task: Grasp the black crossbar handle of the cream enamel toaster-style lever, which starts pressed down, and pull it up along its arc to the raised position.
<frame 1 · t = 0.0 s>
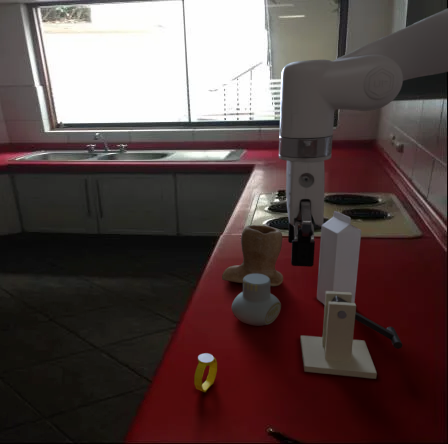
hand: (299, 253, 68), 24 cm above the counter, tool pointing down, fingers open, 9 cm apart
tan boot: (254, 280, 113), on the counter
milk: (334, 303, 99), on the counter
lever: (365, 321, 76), point 8 cm above the counter, hinge at -30.0°
watch: (206, 387, 74), on the counter
air freshener: (256, 319, 94), on the counter
toaster bracket: (335, 358, 79), on the counter
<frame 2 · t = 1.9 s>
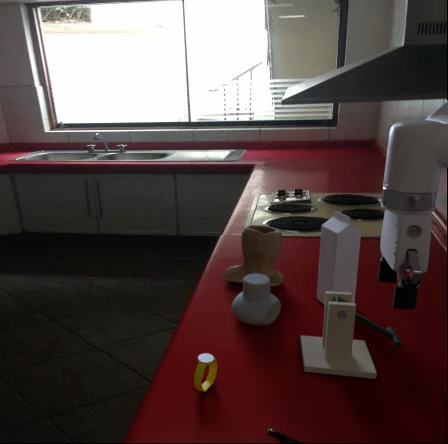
hand: (394, 294, 72), 14 cm above the counter, tool pointing down, fingers open, 9 cm apart
nothing on the counter moved.
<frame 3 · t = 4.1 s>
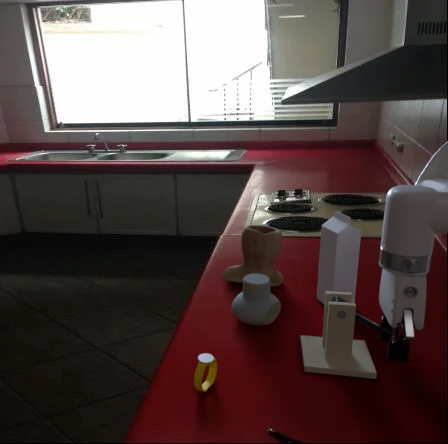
hand: (392, 349, 76), 3 cm above the counter, tool pointing down, fingers closed on lever, 5 cm apart
lever: (365, 321, 76), point 8 cm above the counter, hinge at -30.0°, touching gripper
everything else where it was.
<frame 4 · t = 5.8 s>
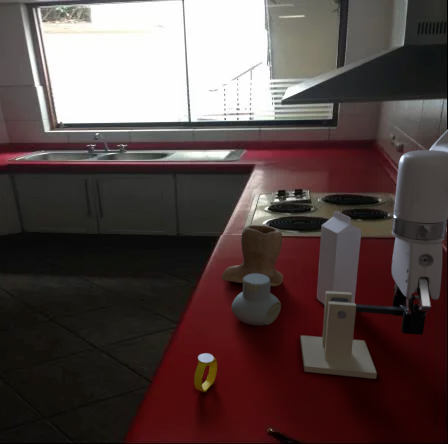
hand: (406, 322, 74), 9 cm above the counter, tool pointing down, fingers closed on lever, 5 cm apart
lever: (370, 309, 75), point 11 cm above the counter, hinge at -0.5°, touching gripper
everything else where it was.
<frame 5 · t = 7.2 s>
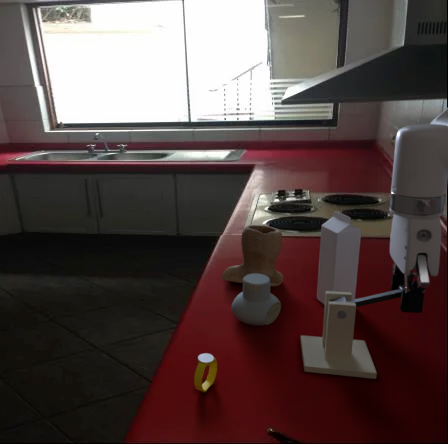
hand: (405, 302, 73), 13 cm above the counter, tool pointing down, fingers closed on lever, 5 cm apart
lever: (369, 300, 74), point 13 cm above the counter, hinge at 19.7°, touching gripper
everything else where it was.
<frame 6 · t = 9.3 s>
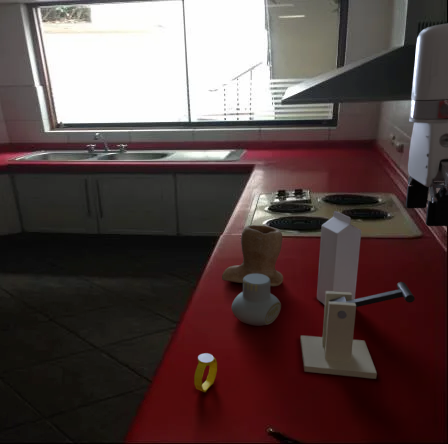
hand: (425, 216, 70), 28 cm above the counter, tool pointing down, fingers open, 9 cm apart
lever: (369, 300, 74), point 13 cm above the counter, hinge at 19.6°
everything else where it was.
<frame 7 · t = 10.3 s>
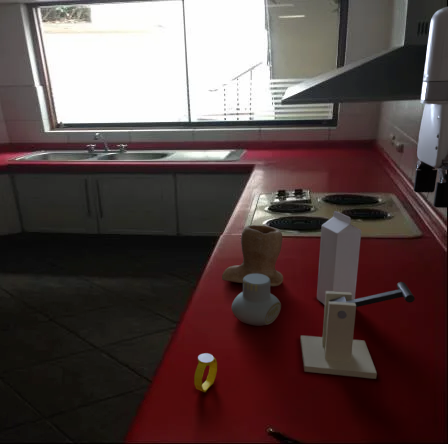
hand: (433, 199, 70), 30 cm above the counter, tool pointing down, fingers open, 9 cm apart
nothing on the counter moved.
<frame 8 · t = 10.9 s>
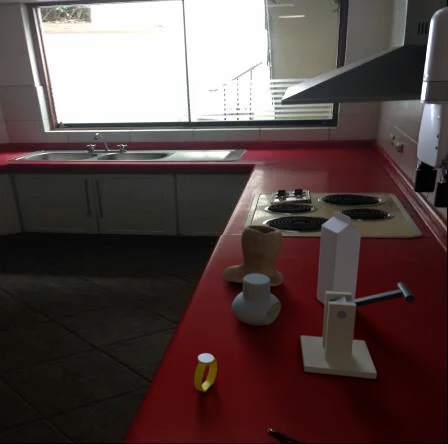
hand: (433, 199, 70), 30 cm above the counter, tool pointing down, fingers open, 9 cm apart
nothing on the counter moved.
at the end: lever at +20° (first picture: -30°) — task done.
